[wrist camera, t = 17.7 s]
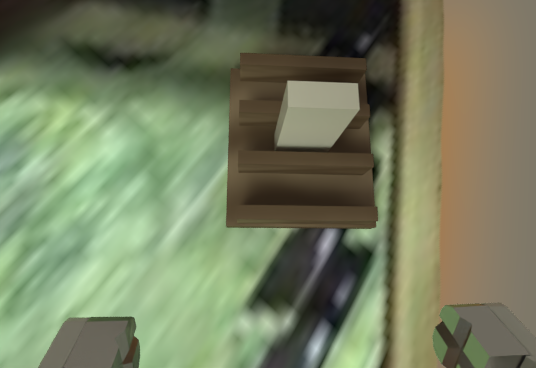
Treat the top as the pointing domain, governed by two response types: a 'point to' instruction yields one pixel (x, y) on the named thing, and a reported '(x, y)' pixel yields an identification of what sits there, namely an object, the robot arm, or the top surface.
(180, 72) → the top surface
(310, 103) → the clay tile
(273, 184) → the rack
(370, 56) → the top surface
